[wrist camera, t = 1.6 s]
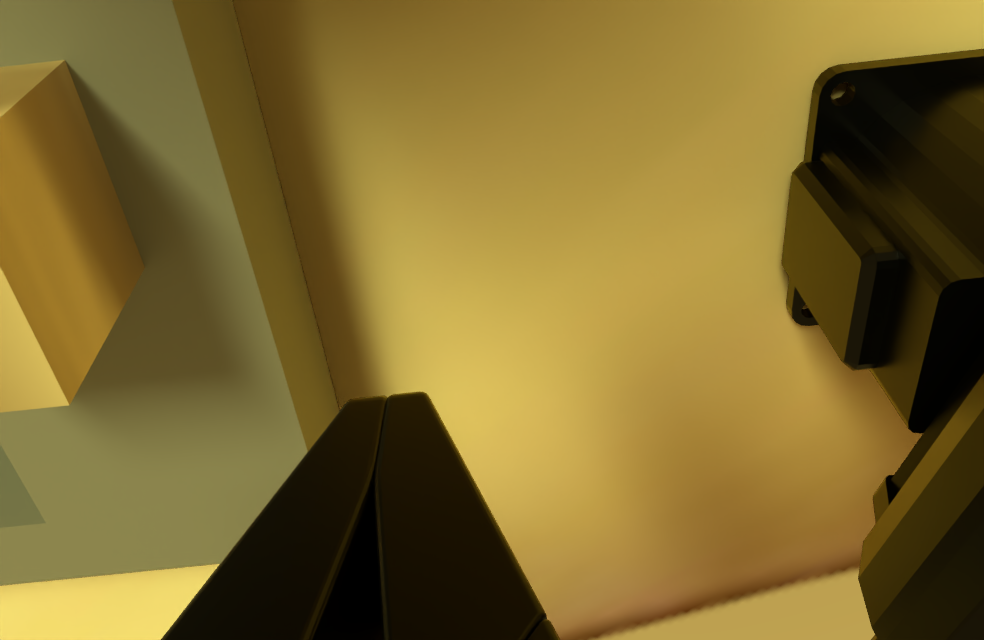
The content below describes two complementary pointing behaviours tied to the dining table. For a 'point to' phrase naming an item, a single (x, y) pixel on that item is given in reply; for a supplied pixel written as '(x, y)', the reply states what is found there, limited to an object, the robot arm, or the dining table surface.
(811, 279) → the robot arm
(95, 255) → the maple block
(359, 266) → the dining table surface
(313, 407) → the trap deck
